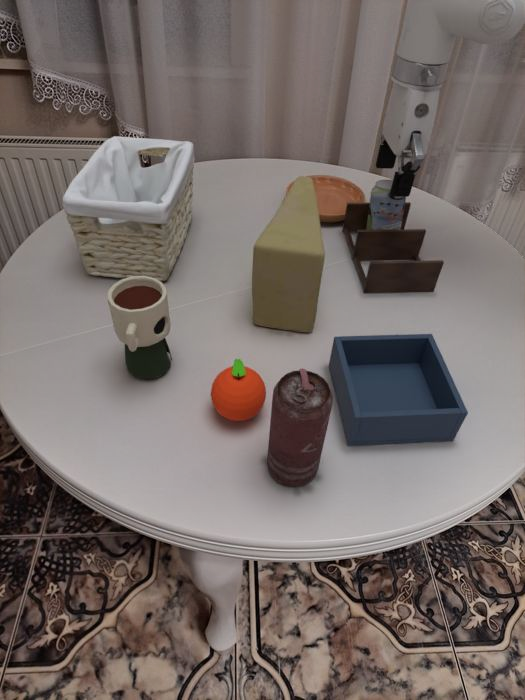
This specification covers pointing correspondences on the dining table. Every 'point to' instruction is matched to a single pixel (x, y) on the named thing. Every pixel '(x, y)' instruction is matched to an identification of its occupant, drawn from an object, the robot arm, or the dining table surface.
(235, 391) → the clementine
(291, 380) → the can
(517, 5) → the robot arm
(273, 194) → the dining table surface
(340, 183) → the saucer
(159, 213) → the basket
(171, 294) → the dining table surface
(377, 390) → the open square box
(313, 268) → the cheese
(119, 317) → the character mug
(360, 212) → the drying rack
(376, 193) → the beverage can
